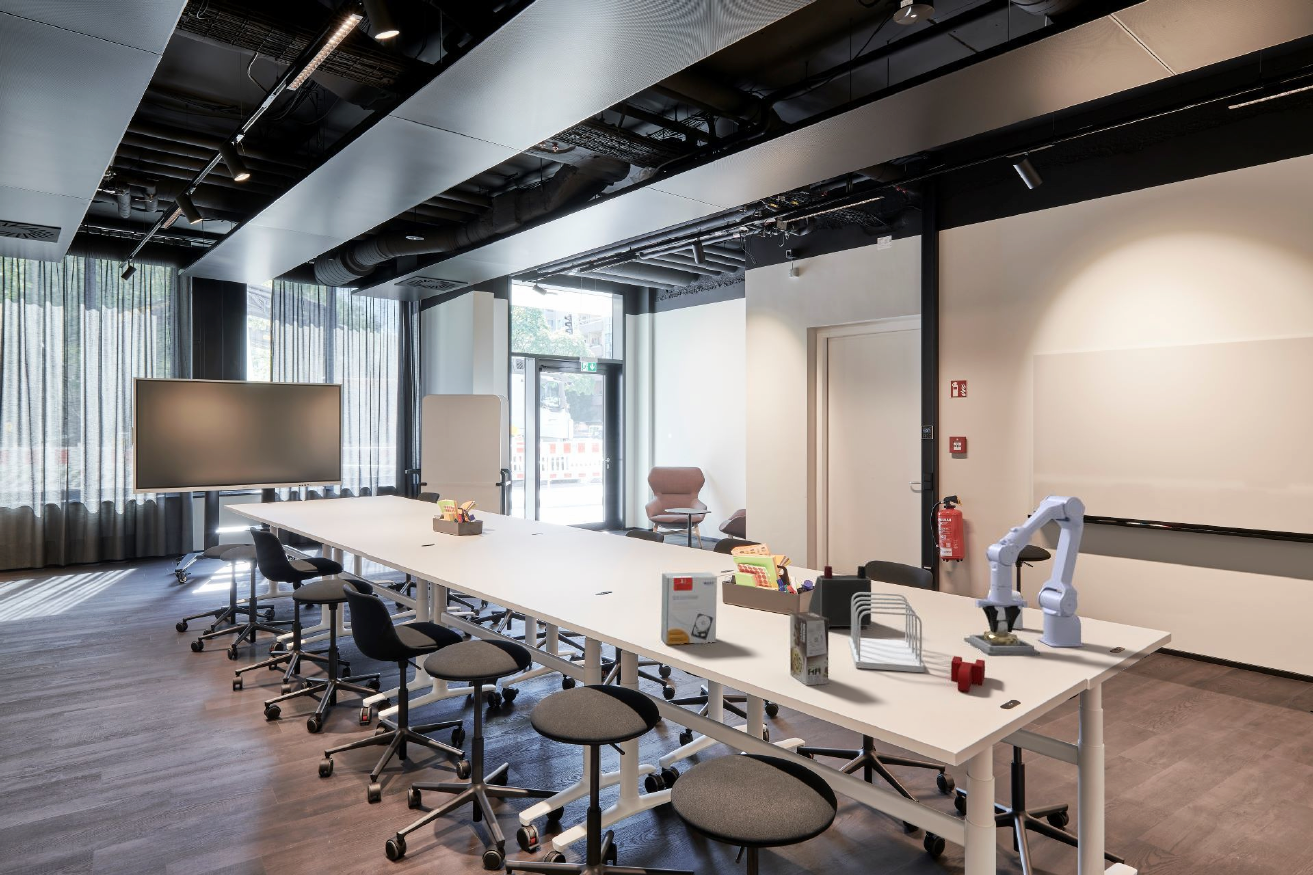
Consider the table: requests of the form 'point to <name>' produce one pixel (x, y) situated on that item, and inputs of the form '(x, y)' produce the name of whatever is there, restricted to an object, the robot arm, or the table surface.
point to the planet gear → (1001, 634)
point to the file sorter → (882, 650)
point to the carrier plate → (1001, 647)
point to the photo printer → (1001, 611)
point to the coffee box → (809, 647)
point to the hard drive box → (688, 608)
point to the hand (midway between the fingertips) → (1001, 631)
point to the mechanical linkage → (967, 673)
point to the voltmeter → (840, 597)
